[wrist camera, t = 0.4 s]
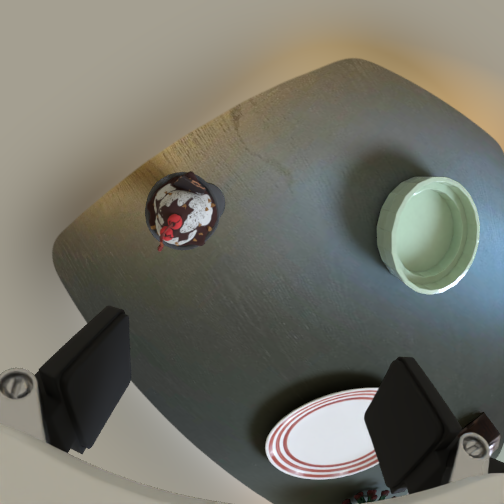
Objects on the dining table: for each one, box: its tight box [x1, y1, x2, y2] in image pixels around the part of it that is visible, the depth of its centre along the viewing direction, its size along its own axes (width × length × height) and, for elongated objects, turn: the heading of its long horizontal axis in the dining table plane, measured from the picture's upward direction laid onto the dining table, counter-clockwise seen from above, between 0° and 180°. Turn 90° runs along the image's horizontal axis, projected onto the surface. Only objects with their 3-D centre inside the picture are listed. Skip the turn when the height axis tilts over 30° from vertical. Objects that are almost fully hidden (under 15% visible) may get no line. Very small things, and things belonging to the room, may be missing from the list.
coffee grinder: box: [457, 413, 500, 456], centre depth 35 cm, size 16×11×18 cm
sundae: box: [145, 171, 225, 251], centre depth 26 cm, size 7×7×15 cm
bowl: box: [377, 177, 480, 295], centre depth 30 cm, size 14×14×5 cm
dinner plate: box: [265, 388, 379, 479], centre depth 40 cm, size 27×27×3 cm
